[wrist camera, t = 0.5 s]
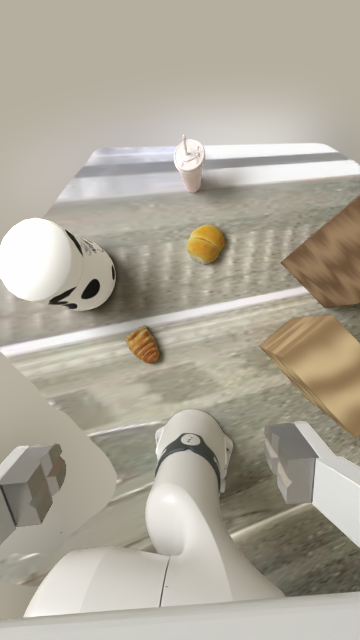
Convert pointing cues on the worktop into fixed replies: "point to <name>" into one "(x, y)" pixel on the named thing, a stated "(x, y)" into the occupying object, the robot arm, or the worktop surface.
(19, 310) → the worktop surface
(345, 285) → the button stand
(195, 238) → the bread roll
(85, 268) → the milk container
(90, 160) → the worktop surface
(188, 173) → the smoothie
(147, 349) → the pastry
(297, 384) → the oak block
